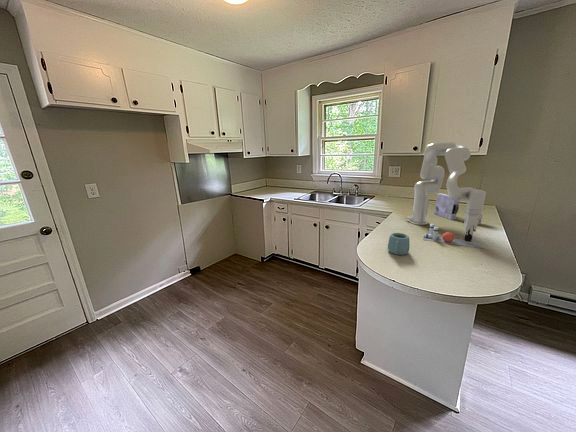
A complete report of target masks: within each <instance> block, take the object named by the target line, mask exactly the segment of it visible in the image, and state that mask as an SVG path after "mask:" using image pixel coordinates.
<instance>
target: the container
mask: <svg viewBox="0 0 576 432" xmlns="http://www.w3.org/2000/svg"><path fill="white" fill-rule="evenodd" d="M466 215H467V214H466V213H465V216H464V219H465V218H466ZM483 216H484V214H483V213H482V215H480V216H479V218H478V224H477V226H479V225H481V224H482V220H483ZM464 223H465V220H464ZM464 223H463V224H464Z"/></svg>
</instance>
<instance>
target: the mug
mask: <svg viewBox="0 0 576 432" xmlns="http://www.w3.org/2000/svg"><path fill="white" fill-rule="evenodd" d="M387 250H388V251H389V252H390V253H391V254H394V255H396V256H397V255H398V256H404V255H407V254H409V253H410V252H409V251H410V237H409V235H407V234H405V233H401V232H394V233H393V232H392V233H391V234H390V235H389V237H388V242H387Z"/></svg>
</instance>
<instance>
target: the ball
mask: <svg viewBox="0 0 576 432" xmlns="http://www.w3.org/2000/svg"><path fill="white" fill-rule="evenodd" d="M441 237H442V238H443V240H444V241H446V242H451V241H453V240H454V239H455V236H454V234H453V233H452V232H449V231H448V232H444V233H442V236H441Z"/></svg>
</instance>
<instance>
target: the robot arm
mask: <svg viewBox="0 0 576 432" xmlns="http://www.w3.org/2000/svg"><path fill="white" fill-rule="evenodd" d="M471 154H472V153H471V151H470V149H469V148H468V147H466V146H465V145H462V144H459V143H456V142H453V141H447V142H446V141H443V142H442V141H440V142H432V143H430V144H429V143H428V144H427V145H426V147H425V149H424V153H423V161H422V164H421V165H422V166H421V169H420V173H419V177H420V179H421V181H418V182H416V183H415V184H414V186H413V187H414V189H413V190H414V199H413V208H412V215H410V216H409V215H405V219H407V220H408V221H409V223H411V224H413V225H418V226H425V225H428V224H429V221H428V220H427V216H428V210H429V199H430V198H429V197H428V195H429V194H430V195H431V194H436V193H437V194H438V193H439V191H440V189H441V187H442V184H443V182H444V178H445V175H446V174H445V168H444V167H443V166H441V165H437V164H438V157H437V156H439V157H440V156H441V157H442V156H444V159H445V163H446V167H447V169H448V172H449V175H448V178H447V180H446V187H445V188H446V190H447V195H449V197H450V198H451V199H452V200H454V201H459V202H460V201H467V202H466V207H465V211H464V213H465V215H466V214H467V215H466V218H465V217H464V221H465V223H463V229H464V231H465V235H464V239H463V240H465V241H467V242H471V241H473V234H474V233H475V232H477V227H478V225H479V224H478V218H479V216H480V215H482V214H483V210H484V204H485V201H486V200H485V199H486V195H487V192H486V191H485V190H483V189H476V188H475V187H468V186H467V187H459V185H458V178H459V176H460V175H463V174H464V173H466V172H467V167H466V164H465V161H468V160H469V159H470V158H471ZM477 224H478V225H477Z"/></svg>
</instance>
